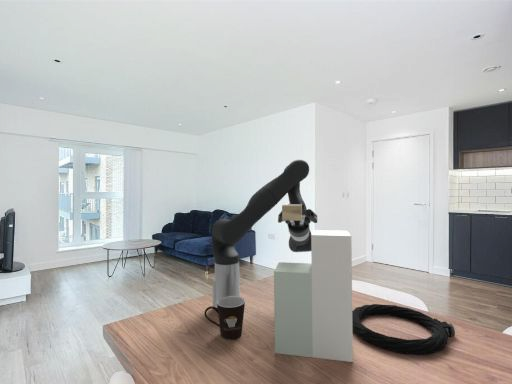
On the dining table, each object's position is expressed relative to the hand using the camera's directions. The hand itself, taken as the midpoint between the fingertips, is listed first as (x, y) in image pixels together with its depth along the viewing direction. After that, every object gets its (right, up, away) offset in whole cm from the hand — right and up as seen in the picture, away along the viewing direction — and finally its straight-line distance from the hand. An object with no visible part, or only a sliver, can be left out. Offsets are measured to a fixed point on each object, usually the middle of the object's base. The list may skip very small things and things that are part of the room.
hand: (295, 206), depth 86 cm
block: (-1, -3, -2) cm, 4 cm away
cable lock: (+32, -39, 0) cm, 51 cm away
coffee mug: (-21, -39, 0) cm, 45 cm away
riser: (+4, -39, -8) cm, 40 cm away
